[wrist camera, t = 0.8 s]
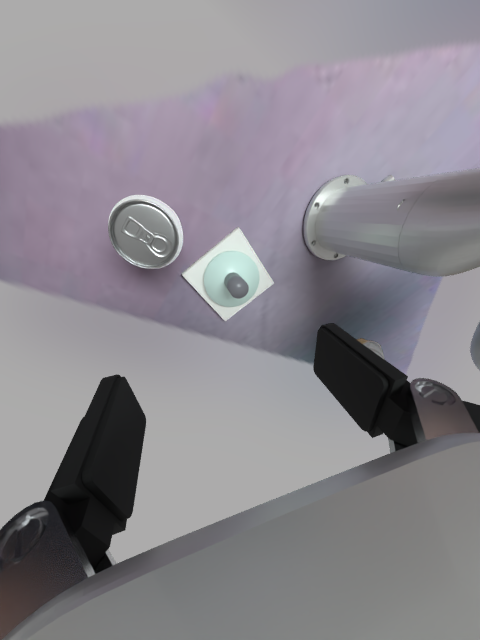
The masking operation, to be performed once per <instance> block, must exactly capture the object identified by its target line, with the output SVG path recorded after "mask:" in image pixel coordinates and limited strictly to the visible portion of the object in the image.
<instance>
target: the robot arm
mask: <svg viewBox="0 0 480 640" xmlns="http://www.w3.org/2000/svg"><path fill="white" fill-rule="evenodd" d="M314 205H315V206H314ZM304 238H305V242H306V244H307V247H308V248H309V250H310V251H311V252H312V253H313V254H314V255H315V256H317V257H319V258H321V259H324V260H337V259H340V258H343V257H345V256H350V257H354V258H358V259H362V260H366V261H369V262H373V263H377V264H381V265H385V266H389V267H393V268H396V269H400V270H404V271H408V272H412V273H416V274H420V275H425V276H433V277H442V276H450V275H455V274H459V273H463V272H466V271H469V270H472V269H474V268H477V267H480V168H474V169H468V170H461V171H455V172H448V173H441V174H434V175H427V176H420V177H413V178H406V179H399V180H394V177H393V176H392V175H389V176H387V177H386V178H385V179H383V180H382V181H381V182H378V183H371V184H367V183H366V182H365V181H364V180H363V179H361V178H359V177H357V176H354V175H344V176H340V177H336V178H333V179H332V180H330V181H328V182H327V183H325V184H324V185H323V186H322V187H321V188H320V189H319V190H318V191H317V192H316V194H315V195H314V197H313V198H312V200H311V202H310V204H309V206H308V208H307V211H306V215H305V219H304ZM311 242H312V243H311ZM470 352H471V357H472V360H473V362H474V364H475V365H476V366H477V368H478V369H479V370H480V322H479V324H478V326H477V328H476V331H475V333H474V335H473V338H472V341H471V348H470ZM314 372H315V374H316V375H317V377H318V378H319V379H320V380H321V381H322V383H323V384H324V385H325V386H326V387H327V388H328V390H329V391H330V392H331V393H332V394H333V396H334V397H335V398H336V399H337V400H338V401H339V403H340V404H341V405H342V406H343V408H344V409H345V410H346V411H347V412H348V413H349V415H350V416H351V417H352V418H353V419H354V421H355V422H356V423H357V424H358V425H359V426H360V428H361V429H362V430H364V431H367V432H368V433H369V435H370V436H371V437H372V438H373V437H376V436H378V435H381V434H383V433H384V434H385V435H386V436H387V437H388V440H389V446H390V454H387V455H385V456H382V457H380V458H377V459H375V460H372V461H369V462H367V463H365V464H362V465H359V466H357V467H354V468H352V469H349V470H346V471H344V472H341V473H339V474H337V475H334V476H331V477H329V478H326V479H324V480H321V481H319V482H316V483H314V484H311V485H308V486H306V487H304V488H301V489H298V490H296V491H293V492H291V493H288V494H286V495H283V496H281V497H279V498H276V499H273V500H271V501H268V502H266V503H263V504H261V505H258V506H256V507H253V508H251V509H249V510H246V511H244V512H241V513H238V514H236V515H233V516H231V517H229V518H226V519H223V520H221V521H219V522H216V523H214V524H211V525H209V526H206V527H204V528H201V529H199V530H196V531H194V532H192V533H189V534H187V535H184V536H182V537H179V538H176V539H174V540H172V541H169V542H167V543H165V544H163V545H160V546H158V547H155V548H153V549H150V550H148V551H146V552H143V553H141V554H139V555H136V556H134V557H132V558H129V559H127V560H125V561H122V562H120V563H118V564H116V562H115V560H114V559H113V557H112V555H111V554H110V552H109V550H108V548H109V547H110V542H111V538H112V535H114V534H116V533H119V532H121V531H124V530H125V528H126V521H127V519H128V518H130V517H131V514H132V512H133V506H134V499H135V493H136V486H137V479H138V472H139V466H140V460H141V453H142V446H143V439H144V433H145V427H146V418H145V415H144V413H143V411H142V409H141V407H140V405H139V403H138V401H137V399H136V397H135V395H134V393H133V391H132V389H131V387H130V386H129V384H128V382H127V380H126V378H125V377H121V376H120V375H114V376H109V377H105V378H103V379H102V380H101V382H100V384H99V386H98V388H97V391H96V393H95V395H94V397H93V400H92V402H91V404H90V406H89V408H88V411H87V413H86V415H85V417H83V419H82V420H81V422H80V424H79V426H78V428H77V430H76V432H75V435H74V437H73V439H72V441H71V443H70V445H69V447H68V450H67V452H66V454H65V456H64V458H63V460H62V463H61V465H60V467H59V469H58V471H57V473H56V475H55V477H54V480H53V482H52V484H51V486H50V488H49V491H48V493H47V495H46V497H45V499H44V501H40V502H36V503H34V504H32V505H30V506H28V507H26V508H24V509H23V510H22V511H20V512H19V513H17V514H16V515H15V516H14V517H13V518H12V519H10V520H9V521H8V522H7V523H6V524H5V525H4V526H3V527H2V529H1V530H0V640H480V405H476V404H473V403H469V402H465V401H462V400H461V398H460V397H459V396H458V394H457V393H456V392H455V391H453V390H452V389H451V388H449V387H448V386H446V385H444V384H442V383H440V382H437V381H435V380H431V379H426V378H418V379H414V380H413V381H412V382H411V383H409V382H408V381H407V377H408V376H406V375H405V374H404V373H402V372H401V371H399V370H398V369H397V368H395V367H394V366H393V365H391V364H390V363H388V362H387V361H386V360H384V359H383V358H381V357H380V356H379V355H377V354H376V353H374V352H373V351H372V350H370V349H369V348H368V347H366V346H365V345H363V344H362V343H361V342H359V341H358V340H356V339H355V338H354V337H352V336H351V335H349V334H348V333H347V332H345V331H344V330H343V329H341V328H340V327H338V326H337V325H336V324H334V323H330V324H326V325H322V326H321V327H320V329H319V330H318V334H317V342H316V351H315V359H314Z"/></svg>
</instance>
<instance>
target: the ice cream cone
mask: <svg viewBox="0 0 480 640" xmlns="http://www.w3.org/2000/svg"><path fill="white" fill-rule="evenodd" d="M356 340H358V341H359V342H361V343H362V344H363V345H365V346H366V347H368V348H369V349H370V350H372V351H373V352H374V353H376V354H377V355H379V356H380V357H381V358H383V359H384V360H385V358H384V356H383V351H382V349H381V345H379V344H378V343H377V342H374V341H367V340H365V339H362V338H360V339H356Z"/></svg>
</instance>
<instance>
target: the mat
mask: <svg viewBox="0 0 480 640" xmlns="http://www.w3.org/2000/svg"><path fill="white" fill-rule="evenodd" d="M225 251H239V252H242V253H244V254H246V255H247V256H249V257H250V258H251V259H252V260H253V261H254V262H255V264H256V265H257V268H258V270H259V285H258V288H257V290H256V292H255V294H254V295H253V296H252V298H251V299H249V300H248V301H247V302H246V303H244V304H242V305H239V306H236V307H225V306H221V305H219V304H217V303H215V302H214V301H213V300H212V299H211V298H210V297H209V295H208V294H207V292H206V289H205V286H204V272H205V269H206V267H207V265H208V263H209V262H210V261H211V260H212V259H213V258H214V257H215V256H216V255H218V254H220V253H222V252H225ZM182 275H183V277H184V278H185V279H186V280H187V281H188V282H189V283H190V284H191V285H192V286H193V287H194V288H195V289H196V291H197V292H198V293H199V294H200V295H201V296H202V297H203V298H204V299H205V300H206V301H207V302H208V303H209V305H210V306H211V307H212V308H213V309H214V310H215V311H216V312H217V313H218V314H219V315H220V316H221V317H222V319H223V320H224V321H226V320H228V319H229V318H230V317H232V316H233V315H234V314H235V313H237V312H238V311H239V310H241V309H242V308H243V307H244V306H246V305H247V304H248V303H249V302H251V301H252V300H253V299H255V298H256V297H257V296H258V295H260V294H261V293H262V292H264V291H265V290H266V289H267V288H269V287H270V286H271V285H272V284H274V282H273V280H272V279H271V277H270V276H269V274H268V273H267V271H266V269H265V268H264V266H263V265H262V263H261V262H260V260H259V258H258V257H257V255H256V254H255V252H254V251H253V249H252V247H251V246H250V244H249V243H248V241H247V239H246V238H245V236H244V235H243V233H242V232H241V230H240V228H238V227H237V228H236V229H235V230H233V231H232V232H231V233H230V234H229V235H227V236H226V237H225V238H224V239H222V240H221V241H220V242H219V243H218V244H216V245H215V246H214V247H213V248H212V249H210V250H209V251H208V252H207V253H206V254H204V255H203V256H202V257H201V258H200V259H198V260H197V261H196V262H195V263H194V264H192V265H191V266H190V267H189V268H187V269H186V270H185V271H184V272H183V273H182Z"/></svg>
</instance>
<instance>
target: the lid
mask: <svg viewBox="0 0 480 640" xmlns="http://www.w3.org/2000/svg"><path fill="white" fill-rule="evenodd" d="M258 285H259V270H258V268H257V265H256V264H255V262H254V261H253V260H252V259H251V258H250V257H249V256H247V255H246V254H244V253H242V252H239V251H225V252H222V253H220V254H218V255H216V256H215V257H214V258H213V259H212V260H211V261H210V262H209V263H208V265H207V267H206V269H205V272H204V286H205V289H206V292H207V294H208V295H209V297H210V298H211V299H212V300H213V301H214V302H215V303H217V304H219V305H221V306H225V307H236V306H239V305H242V304H244V303H246V302H247V301H248V300H249V299H251V298H252V296H253V295H254V294H255V292H256V290H257V288H258Z"/></svg>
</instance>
